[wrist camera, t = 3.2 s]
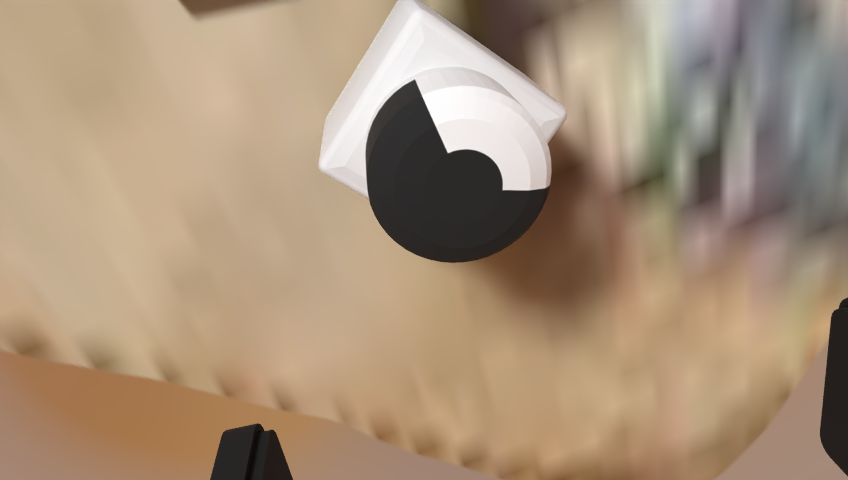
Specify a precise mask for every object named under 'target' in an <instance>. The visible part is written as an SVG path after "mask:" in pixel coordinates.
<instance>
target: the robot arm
mask: <svg viewBox="0 0 848 480" xmlns="http://www.w3.org/2000/svg"><path fill="white" fill-rule="evenodd" d="M820 437H821V442H822V445H823V447H824V449H825V451H826V452H827V454H828V455H829V456H830V458H831V459H832V460H833V461H834V462H835V463H836V464H837V465H838V466H839V467H840V469H841V470H843V472H844V473H845V474H846V475H847V476H848V298H846V299H844V300H842V302H841V303H840V306H839V309H837V310H835V311H834V312H833V313H832V317H831V325H830V335H829V346H828V356H827V367H826V377H825V387H824V396H823V408H822V417H821V427H820ZM210 480H293V478H292V476H291V473H290V470H289V467H288V464H287V462H286V459H285V456H284V453H283V451H282V448H281V445H280V443H279V440H278V437H277V435H276V432H275V431H274V430H269V431H264V429H263V427H262V426H261V424H253V425H249V426H244V427H239V428H235V429H230V430H226V431H225V432H223V434H222V437H221V441H220V444H219V448H218V452H217V456H216V459H215V463H214V467H213V471H212V475H211V479H210Z"/></svg>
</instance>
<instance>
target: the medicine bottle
mask: <svg viewBox="0 0 848 480" xmlns="http://www.w3.org/2000/svg"><path fill="white" fill-rule="evenodd" d="M566 117H567V112H566V109H565V108H564V107H563V106H562V105H561V104H560V103H558V102H557V101H556V100H555V99H554V98H552V97H551V96H550V95H549V94H548V93H546V92H545V91H544V90H543V89H542V88H540V87H539V86H538V85H537V84H535V83H534V82H533V81H532V80H531V79H529V78H528V77H527V76H526V75H525V74H523V73H522V72H520V71H519V70H518V69H516V68H515V67H513V66H512V65H510V64H509V63H508V62H506V61H505V60H503V59H502V58H500V57H499V56H498V55H496V54H495V53H493V52H492V51H490V50H489V49H488V48H486V47H485V46H483V45H482V44H480V43H479V42H478V41H476V40H475V39H473V38H472V37H470V36H469V35H468V34H466V33H465V32H463V31H462V30H461V29H459V28H458V27H456V26H455V25H453V24H452V23H451V22H449V21H448V20H446V19H445V18H443V17H442V16H441V15H439V14H438V13H436V12H435V11H433V10H432V9H431V8H429V7H428V6H426V5H425V4H423V3H422V2H421V1H419V0H398V1H397V3H396V4H395V6H394V8H393V9H392V11H391V13H390V14H389V16H388V17H387V19H386V21H385V22H384V24H383V26H382V27H381V29H380V31H379V32H378V34H377V35H376V37H375V39H374V40H373V42H372V44H371V45H370V47H369V49H368V50H367V52H366V53H365V55H364V57H363V58H362V60H361V62H360V63H359V65H358V67H357V68H356V70H355V71H354V73H353V75H352V76H351V78H350V80H349V81H348V83H347V85H346V86H345V88H344V90H343V91H342V93H341V94H340V96H339V98H338V99H337V101H336V103H335V104H334V106H333V108H332V109H331V111H330V112H329V114H328V116H327V117H326V120H325V125H324V132H323V139H322V145H321V152H320V159H319V169H320V170H321V171H322V172H323V173H324V174H325V175H327V176H329V177H330V178H332V179H334V180H336V181H337V182H339V183H341V184H343V185H344V186H346V187H348V188H350V189H351V190H353V191H355V192H357V193H358V194H360V195H362V196H364V197H365V198H367V199H369V200H370V204H371V207H372V209H373V212H374V214H375V216H376V218H377V220H378V222H379V223H380V225H381V226H382V228H383V229H384V230H385V231H386V233H387V234H388V235H389V236H390V237H391V238H392V239H393V240H394V241H395V242H396V243H398V244H399V245H400V246H402V247H403V248H405V249H406V250H408V251H410V252H412V253H414V254H416V255H418V256H421V257H424V258H427V259H430V260H435V261H440V262H451V263H454V262H467V261H473V260H478V259H481V258H484V257H488V256H490V255H492V254H495V253H497V252H499V251H501V250H503V249H504V248H506V247H508V246H509V245H511V244H512V243H513V242H515V241H516V240H517V239H518V238H520V237H521V236H522V235H523V234H524V233H525V232H526V231H527V230H528V229H529V227H530V226H531V225H532V223H533V222H534V221H535V220H536V218H537V216H538V215H539V213H540V211H541V209H542V208H543V205H544V203H545V200H546V198H547V195H548V191H549V187H550V181H551V157H550V152H549V147H548V143H549V141H550V140H551V139H552V137H553V136H554V135H555V133H556V132H557V131H558V129H559V128H560V127H561V125H562V124H563V123H564V121H565V120H566Z"/></svg>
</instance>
